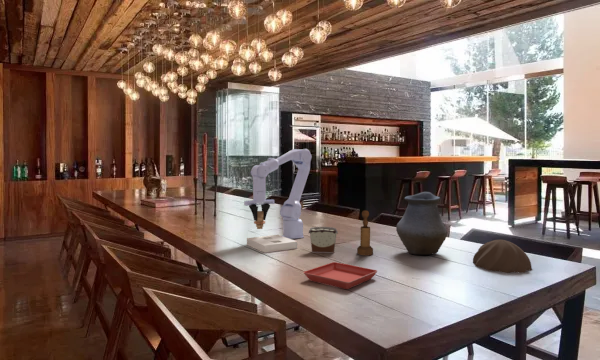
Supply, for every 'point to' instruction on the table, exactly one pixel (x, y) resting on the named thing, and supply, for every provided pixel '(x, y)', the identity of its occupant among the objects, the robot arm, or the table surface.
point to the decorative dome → (502, 257)
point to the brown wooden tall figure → (365, 237)
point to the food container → (323, 239)
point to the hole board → (271, 243)
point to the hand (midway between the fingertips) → (259, 220)
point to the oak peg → (260, 220)
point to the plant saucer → (340, 275)
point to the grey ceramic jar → (422, 225)
